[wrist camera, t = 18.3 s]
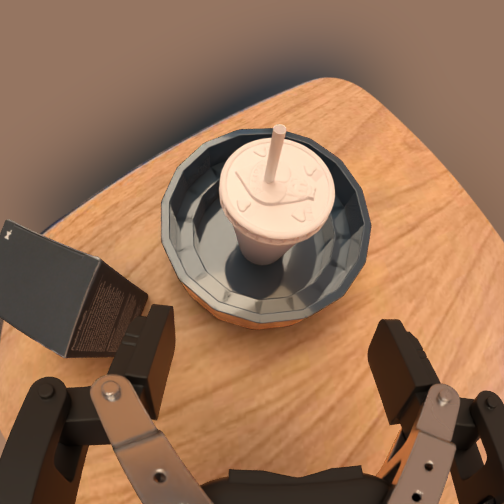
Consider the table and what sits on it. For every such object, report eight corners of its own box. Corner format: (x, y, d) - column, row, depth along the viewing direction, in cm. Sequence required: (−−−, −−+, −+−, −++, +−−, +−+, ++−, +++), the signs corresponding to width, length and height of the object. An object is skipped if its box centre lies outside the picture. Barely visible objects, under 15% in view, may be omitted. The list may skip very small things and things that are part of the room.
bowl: (180, 336, 24) (164, 331, 18) (174, 175, 28) (163, 135, 22) (355, 317, 25) (388, 306, 19) (325, 167, 29) (344, 128, 24)
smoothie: (235, 198, 27) (241, 70, 14) (308, 219, 27) (368, 106, 14) (212, 269, 25) (192, 174, 12) (291, 291, 25) (356, 220, 12)
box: (52, 321, 23) (-27, 299, 13) (75, 262, 25) (6, 214, 15) (127, 359, 23) (63, 360, 13) (151, 294, 25) (101, 256, 15)
